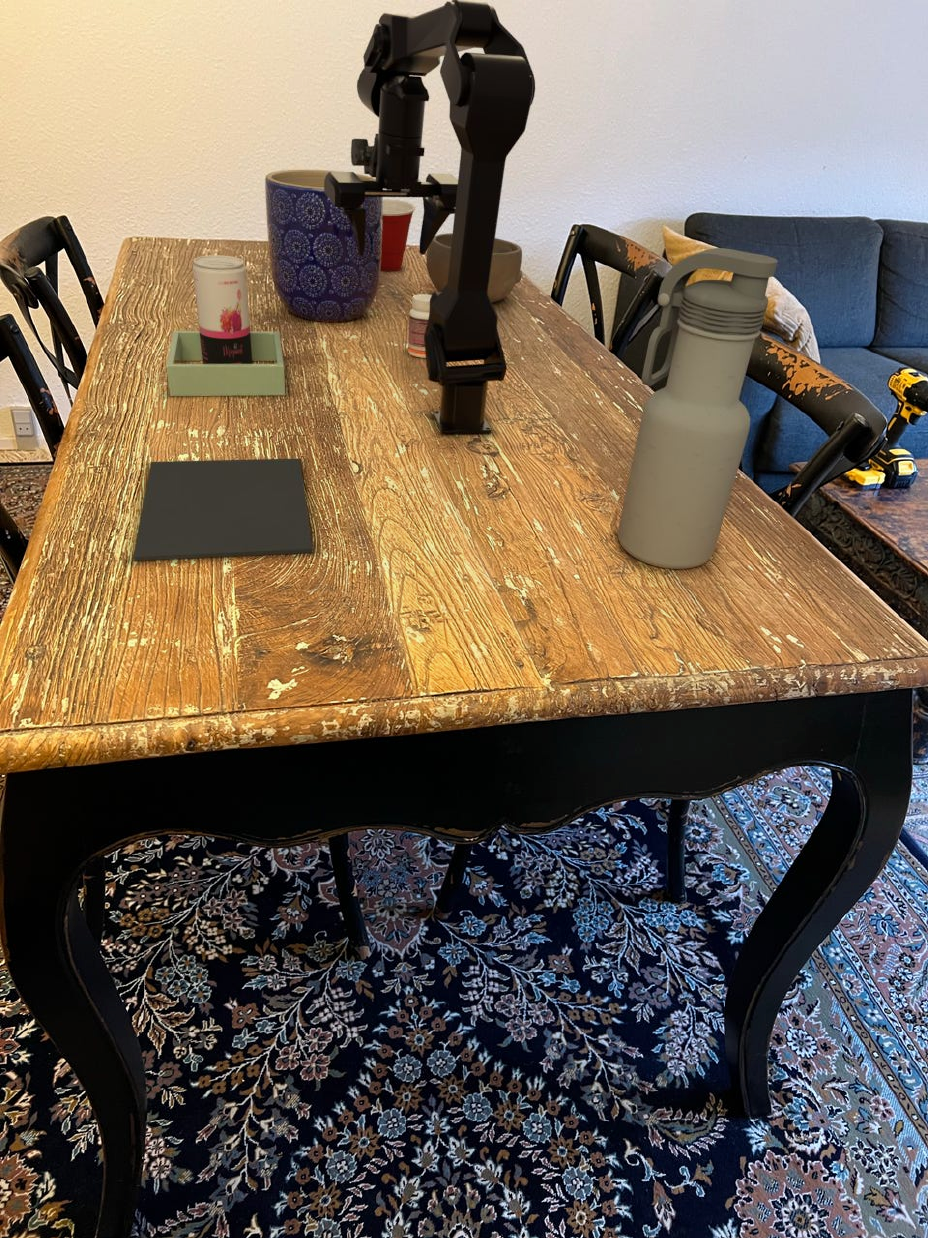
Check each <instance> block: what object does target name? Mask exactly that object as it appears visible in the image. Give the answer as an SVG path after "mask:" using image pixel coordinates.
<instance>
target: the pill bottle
mask: <svg viewBox="0 0 928 1238" xmlns="http://www.w3.org/2000/svg"><path fill="white" fill-rule="evenodd" d="M431 296H432V294H427V293H419V294H414V295H413V296H412V299H411V307H412V308H411V309H410V310H409V313H408V341H407V344H408V345H407V353H408V354H409V355H411V356H413V357H416V358H422V359H426V354H425V343H424V334H425V330H426V327H427V322H428V319H429V312H430V298H431Z"/></svg>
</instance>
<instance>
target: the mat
mask: <svg viewBox="0 0 928 1238" xmlns="http://www.w3.org/2000/svg"><path fill="white" fill-rule="evenodd" d="M302 469H303V468H302V463H301V458H261V459H257V458H255V459H220V460H219V459H218V460H216V459H215V460H173V461H151V462H150V465H149V471H148V476H147V482H146V487H145V493H144V498H143V502H142V508H141V513H140V518H139V524H138V528H137V529H138V530H137V534H136V535H137V536H136V540H135V545H134V551H133V556H132V558H133V561H134V562H146V561H148V562H149V561H165V560H166V561H167V560H169V561H170V560H188V559H189V560H190V559H208V558H209V559H210V558H232V557H251V556H273V555H274V556H275V555H293V554H312V553H313V552H314V548H313V542H312V534H311V527H310V521H309V513H308V507H307V506H308V505H307V498H306V491H305V484H304V478H303V470H302Z"/></svg>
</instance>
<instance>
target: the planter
mask: <svg viewBox="0 0 928 1238" xmlns="http://www.w3.org/2000/svg"><path fill="white" fill-rule="evenodd" d="M329 172H339V171H337V170H327V169H326V170H324V169H287V170H286V169H285V170H277V171H272V172H269V173H267V174H266V175H265V176H264V184H265V185H264V186H265V187H264V192H265V194H264V196H265V214H266V228H267V229H266V230H267V243H268V254H269V262H270V270H271V277H272V282H273V286H274V290H275V291H276V293H277V296H278V298H279V299H280V301H281V302H282V304H283V306H284V307H285V308H286V309H287V311H289V312H290V313H291V314H293V315H294V316H297V317H298V318H301V319H304V320H308V321H312V322H319V323H320V322H321V323H340V322H342V323H343V322H348V321H353V320H355V319H358V318H360V317H362V316H363V315H364V314H365V313H366V312H367V311H368V310H369V309H370V307H371V306H372V304H373V302H374V301H375V298H376V296H377V294H378V290H379V286H380V277H381V270H380V269H381V255H382V220H383V198H384V197H365V201H364V202H363V204H362V206H363V207H364V208H365V209H366V232H365V249H364V255H363V256H360V254H359V253H358V249H357V245H356V242H355V238H354V234H353V231H352V227H351V224H350V221H349V218H348V216H347V214H346V213H344V212H343V211H342V209H341V208H340V207H337V206H335V205H334V204H333V203H332V202H331V200H330V199H329V198H328V197H327V196H326V194H325V193H324V179H325V177H326V175H327V174H328V173H329ZM355 174H356V175H357V176H358V177H359V179H360V180H361V181H376V178H375V177H371V176H368V175H365V174H359V173H355Z"/></svg>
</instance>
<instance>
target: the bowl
mask: <svg viewBox="0 0 928 1238" xmlns="http://www.w3.org/2000/svg"><path fill="white" fill-rule="evenodd" d="M452 235H453V232H452V233H451V232H450V233H440V234H436V235H435V237H434V239H433V240H432V242H431V244H430V246H429V247H428V249H427V251H426V260H425V261H426V262H425V263H426V264H425V265H426V271H427V273H428V277H429V279H430V282H431V283H432V284H433V286H434V288H435V290H437V292H442V290H443V289H444V287H445V286H446V285H447V281H448V273H449V263H450V254H451V244H452ZM522 261H523V249H522V247H521V246H520V245H518V244H517V243H514V242H512V241H509V240H504V239H501V238H497V237H495V241H494V248H493V256H492V263H491V270H490V278H489V285H488V296H489V298H490V300H491V303H492V304H493V303H496V302H499V301H502V300H503V299H505V298H506V297H507V296H508V295H509V294H511V292H512V291H513V289H514V287H515V286H516V285H517V284H519V283H520V282H521V280H522V277H523V271H522V270H521V268H522V264H523V263H522Z"/></svg>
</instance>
